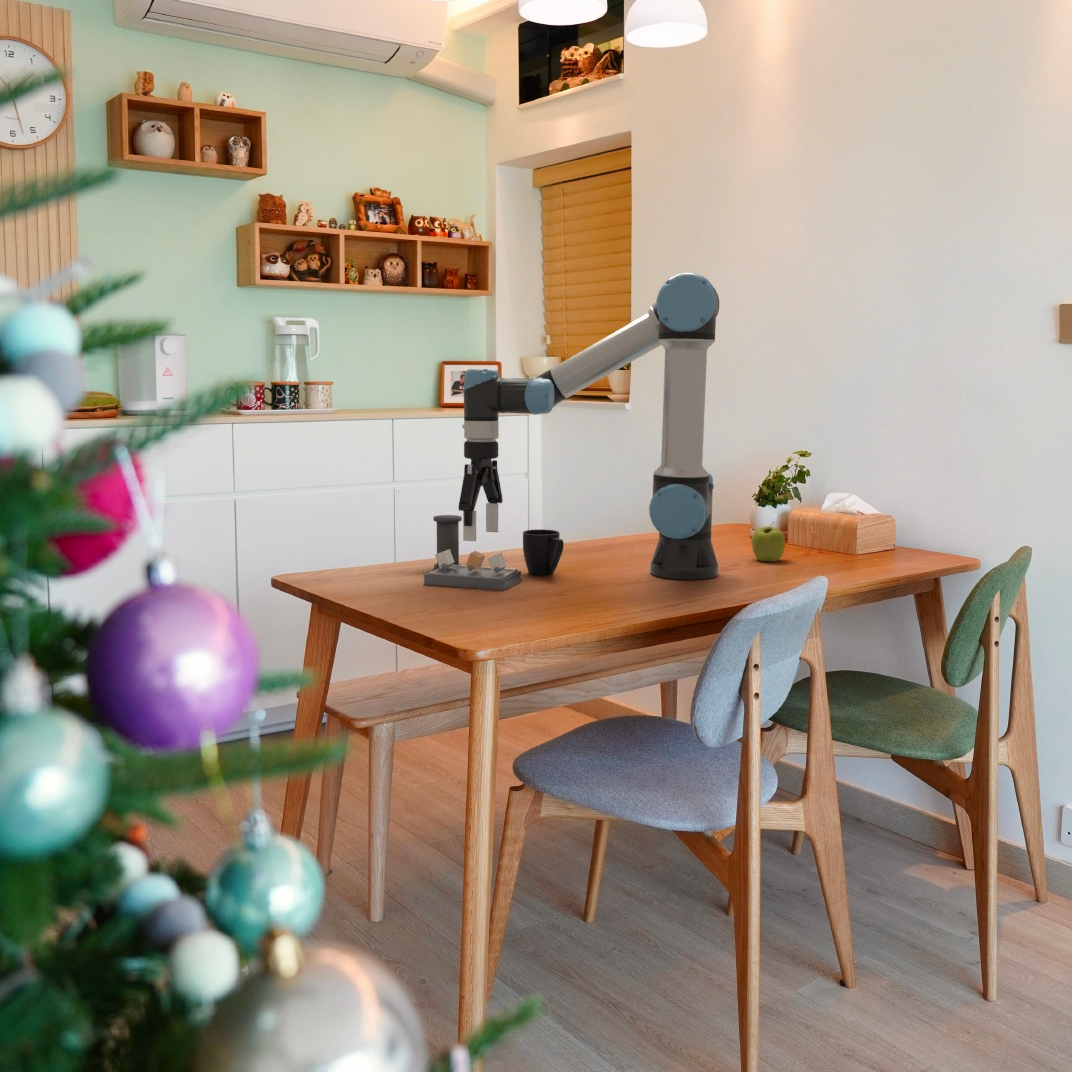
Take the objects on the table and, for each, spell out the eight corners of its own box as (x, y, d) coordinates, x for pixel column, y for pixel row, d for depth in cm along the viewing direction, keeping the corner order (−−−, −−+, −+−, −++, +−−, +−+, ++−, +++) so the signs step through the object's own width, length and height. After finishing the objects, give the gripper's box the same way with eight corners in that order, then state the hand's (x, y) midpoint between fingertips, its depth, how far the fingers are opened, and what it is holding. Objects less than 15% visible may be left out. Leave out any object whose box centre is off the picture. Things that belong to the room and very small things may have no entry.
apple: (764, 551, 264) (774, 515, 260) (786, 566, 258) (796, 528, 254) (740, 554, 260) (750, 517, 256) (762, 569, 254) (772, 531, 250)
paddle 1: (456, 564, 231) (450, 548, 231) (449, 567, 228) (443, 551, 228) (446, 567, 232) (440, 552, 232) (440, 570, 229) (434, 555, 229)
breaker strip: (521, 580, 231) (521, 568, 231) (503, 590, 221) (503, 577, 220) (444, 575, 237) (444, 563, 236) (424, 584, 226) (424, 571, 226)
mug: (544, 581, 231) (544, 538, 229) (515, 572, 241) (516, 530, 239) (575, 578, 235) (576, 535, 233) (546, 569, 245) (546, 528, 244)
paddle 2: (508, 567, 228) (502, 552, 228) (502, 570, 224) (496, 554, 224) (498, 571, 229) (492, 555, 228) (492, 574, 225) (486, 558, 225)
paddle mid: (480, 570, 230) (485, 555, 229) (473, 573, 226) (479, 558, 226) (470, 565, 230) (476, 550, 229) (464, 568, 227) (469, 553, 226)
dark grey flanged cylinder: (466, 567, 247) (465, 515, 245) (455, 571, 241) (455, 519, 239) (440, 565, 249) (440, 514, 247) (429, 570, 243) (428, 518, 241)
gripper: (485, 436, 246) (485, 527, 249) (442, 443, 222) (443, 543, 225) (516, 437, 243) (516, 529, 247) (476, 444, 220) (476, 545, 223)
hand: (481, 536), depth 236 cm, fingers open, 13 cm apart
